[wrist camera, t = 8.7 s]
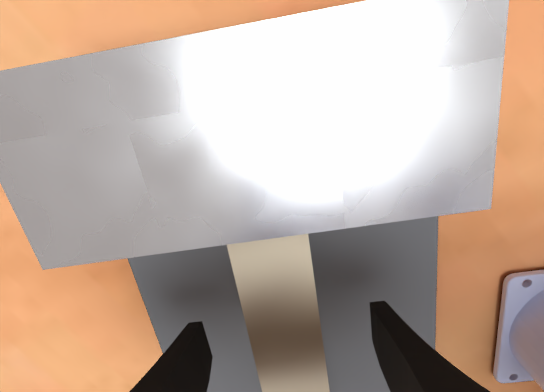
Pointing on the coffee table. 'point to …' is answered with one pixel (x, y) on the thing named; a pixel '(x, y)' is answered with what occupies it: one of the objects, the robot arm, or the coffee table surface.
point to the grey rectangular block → (256, 130)
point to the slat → (281, 312)
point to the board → (330, 296)
